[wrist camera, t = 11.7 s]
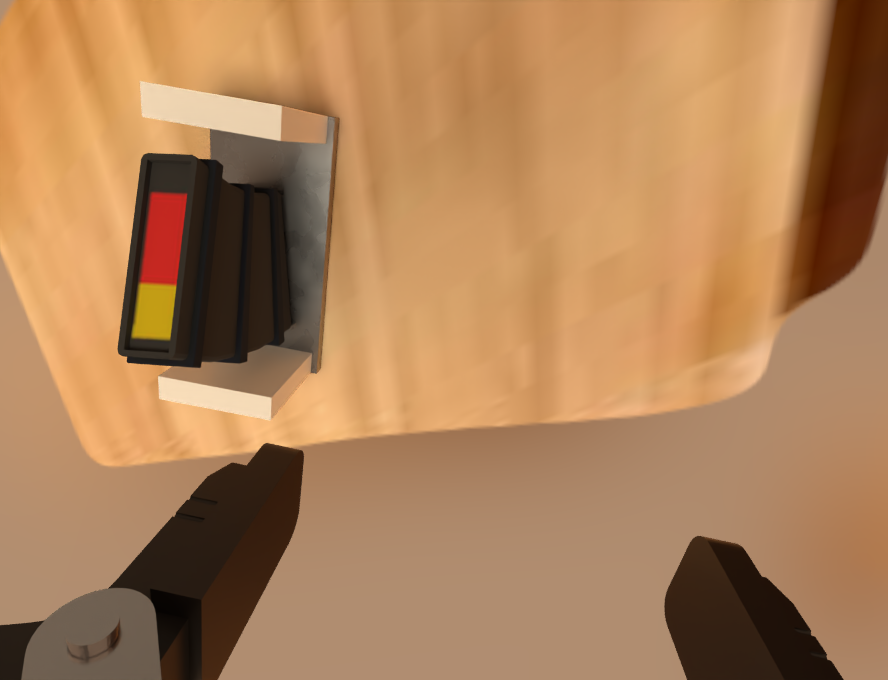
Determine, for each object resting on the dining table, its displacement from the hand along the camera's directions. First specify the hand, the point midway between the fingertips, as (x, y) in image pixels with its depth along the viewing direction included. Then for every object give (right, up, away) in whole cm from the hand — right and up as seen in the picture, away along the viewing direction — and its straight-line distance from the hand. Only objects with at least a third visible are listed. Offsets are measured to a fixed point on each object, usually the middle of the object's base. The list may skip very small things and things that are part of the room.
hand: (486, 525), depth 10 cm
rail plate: (-14, +11, +29) cm, 34 cm away
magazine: (-14, +11, +28) cm, 33 cm away
